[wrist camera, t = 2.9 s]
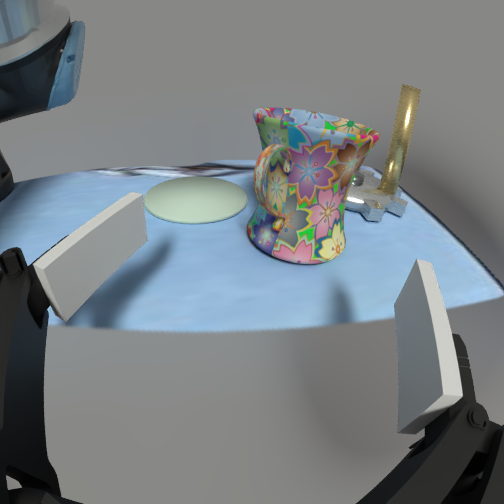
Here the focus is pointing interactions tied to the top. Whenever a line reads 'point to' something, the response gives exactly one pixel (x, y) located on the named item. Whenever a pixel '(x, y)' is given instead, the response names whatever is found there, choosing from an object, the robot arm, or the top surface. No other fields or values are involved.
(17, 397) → the robot arm
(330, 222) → the mug
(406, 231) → the top surface
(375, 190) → the sprocket
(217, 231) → the top surface
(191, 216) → the pale green plate
